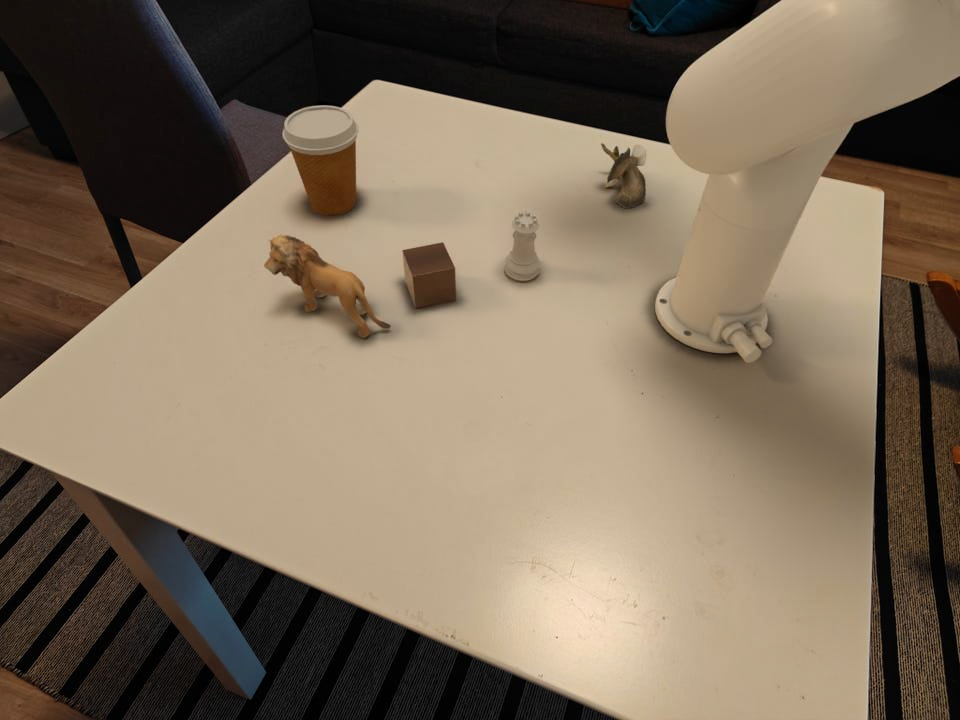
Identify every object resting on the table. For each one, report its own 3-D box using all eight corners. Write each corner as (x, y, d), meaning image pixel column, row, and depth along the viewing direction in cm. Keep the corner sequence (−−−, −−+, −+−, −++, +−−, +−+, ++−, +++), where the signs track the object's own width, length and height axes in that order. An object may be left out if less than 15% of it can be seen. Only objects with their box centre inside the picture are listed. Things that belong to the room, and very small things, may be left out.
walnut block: (456, 300, 77) (455, 267, 73) (415, 308, 76) (412, 276, 72) (444, 274, 80) (443, 241, 77) (405, 282, 79) (402, 249, 76)
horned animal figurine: (583, 166, 95) (593, 190, 88) (615, 124, 92) (628, 146, 85) (622, 192, 98) (635, 218, 91) (654, 153, 94) (670, 177, 87)
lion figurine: (270, 308, 76) (251, 247, 69) (296, 281, 79) (280, 220, 72) (380, 345, 72) (370, 284, 65) (402, 315, 75) (396, 254, 69)
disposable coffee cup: (378, 189, 93) (368, 109, 84) (351, 227, 87) (338, 145, 78) (317, 178, 94) (301, 99, 85) (286, 215, 88) (266, 134, 79)
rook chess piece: (499, 263, 82) (501, 210, 76) (532, 257, 83) (537, 204, 77) (510, 286, 79) (514, 232, 73) (545, 279, 80) (550, 225, 74)
